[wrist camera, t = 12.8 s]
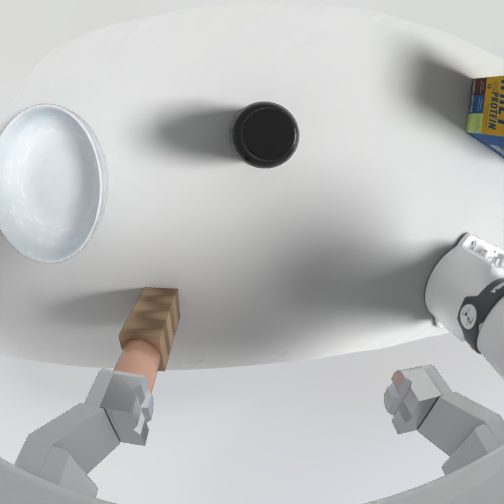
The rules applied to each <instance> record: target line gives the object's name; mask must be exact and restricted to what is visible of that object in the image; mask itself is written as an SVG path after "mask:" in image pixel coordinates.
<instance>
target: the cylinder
mask: <svg viewBox="0 0 504 504" xmlns="http://www.w3.org/2000/svg"><path fill="white" fill-rule="evenodd" d="M160 361H161V355H160V352H159V350H158V349H157V348H156V347H155V346H154V345H153V344H151V343H149V342H147V341H145V340H141V339H133V340H130V341H128V342H127V343H126V344H125V346H124V348H123V351H122V353H121V355H120V357H119V359H118V362H117V364H116V366H115V368H114V371H121V372H126V373H133V374H139V375H145V376H147V377H148V381H149V386H148V390H149V391H150V392H151V393H152V389H153V386H154V382H155V379H156V375H157V372H158V368H159V365H160Z"/></svg>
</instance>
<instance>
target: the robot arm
mask: <svg viewBox="0 0 504 504" xmlns="http://www.w3.org/2000/svg"><path fill="white" fill-rule="evenodd" d="M425 302H426V306H427V309H428V310H429V312H430V313H431V314H432V315H433V316H434V317H435V322H436V325H437V326H438V327H439V328H446V329H447V330H449V331H450V332H451V333H452V334H453V335H454V336H455V337H457V338H458V339H459V340H460V341H462V342H464V341H467V343H468V344H469V346H470V347H471V348H472V349H474V350H475V351H476V352H477V353H479V354H482V355H483V356H484V357H485V358H486V360H487V361H488V362H489V363H490V364H491V365H492V366H493V368H494V369H495V370H496V371H497V372H498V373H499V375H500V376H501V377H502V378H503V379H504V250H503V249H501V248H499V247H497V246H495V245H493V244H491V243H489V242H487V241H484V240H482V239H480V238H478V237H476V236H474V235H471V234H469V233H467V234H465V235H464V236H463V237H462V239H461V240H460V241H459V243H458V244H457V246H456V247H454V248H453V249H452V250H450V251H449V252H448V253H447V254H445V255H444V256H443V257H442V259H441V260H440V261H439V262H438V263H437V265H436V266H435V268H434V270H433V271H432V273H431V275H430V278H429V280H428V283H427V287H426V292H425ZM392 381H393V383H392V384H391V385H390V386H388V388H387V389H386V392H385V394H384V403H385V408H386V410H387V412H389V413H390V414H392V415H393V418H392V423H393V425H394V427H395V429H396V431H397V433H398V434H402V433H406V432H410V431H414V430H417V431H418V432H419V433H420V434H422V435H423V436H424V437H425V438H427V439H428V440H429V441H431V442H432V443H433V444H434V445H436V446H437V447H438V448H439V449H441V450H442V451H443V452H445V453H446V454H447V455H448V456H450V458H449V459H448V460H447V461H446V462H445V463H444V464H443V466H442V470H443V471H444V474H445V476H443V477H440V478H438V479H436V480H434V481H431V482H429V483H426V484H424V485H421V486H418V487H416V488H413V489H410V490H408V491H405V492H402V493H399V494H395V495H392V496H389V497H386V498H382V499H379V500H375V501H372V502H368V503H364V504H504V420H503V419H502V417H501V416H500V415H499V414H497V413H495V412H493V411H491V410H490V409H488V408H486V407H484V406H482V405H480V404H478V403H476V402H474V401H472V400H470V399H469V398H467V397H465V396H463V395H461V394H459V393H457V392H452V390H451V389H450V388H449V386H448V385H447V383H446V382H445V381H444V379H443V378H442V376H441V375H440V373H439V372H438V371H437V369H436V368H435V367H434V366H433V365H431V364H430V365H425V366H420V367H415V368H409V369H404V370H398V371H396V372H395V373H394V374H393V376H392ZM148 386H149V381H148V377H147V376H145V375H139V374H133V373H126V372H121V371H114V370H108V369H102V370H100V371H99V373H98V375H97V377H96V379H95V381H94V383H93V385H92V388H91V390H90V392H89V394H88V397H87V398H86V401H85V403H84V404H82V403H80V404H78V405H76V406H74V407H73V408H71V409H70V410H68V411H66V412H65V413H63V414H62V415H60V416H58V417H57V418H55V419H54V420H52V421H50V422H49V423H47V424H45V425H44V426H42V427H40V428H39V429H37V430H35V431H34V432H32V433H31V434H29V435H28V437H27V439H26V441H25V443H24V445H23V447H22V449H21V451H20V453H19V456H18V458H17V460H16V462H15V464H14V465H13V464H11V463H9V462H8V461H6V460H4V459H2V458H0V504H116V503H112V502H108V501H104V500H100V499H97V498H96V495H97V490H98V488H97V486H96V485H95V483H93V481H92V480H91V479H90V478H89V477H88V476H87V474H88V473H89V472H90V471H91V470H92V469H93V468H94V467H95V466H96V465H98V464H99V463H100V462H101V461H102V460H103V459H104V458H105V457H106V456H107V455H108V454H109V453H110V452H112V451H113V450H114V449H115V448H116V447H117V446H118V445H119V444H120V442H124V443H130V444H136V445H143V446H145V443H146V440H147V435H148V431H149V429H148V426H147V422H148V421H150V420H151V418H152V414H153V396H152V393H151V392H150V391H149V390H148Z"/></svg>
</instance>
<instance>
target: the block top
mask: <svg viewBox="0 0 504 504" xmlns="http://www.w3.org/2000/svg"><path fill="white" fill-rule="evenodd" d="M133 339H141V340H145V341H147V342H149V343H151V344H153V345H154V346H155V347H156V348H157V349H158V350H159V352H160V355H161V361H160V365H159V368H158V371H165V369H166V365H167V361H168V358H169V354H170V344H169V337H168V329H167V321H166V320H165V319H151V318H138V317H128V319H127V320H126V322H125V324H124V326H123V328H122V330H121V332H120V334H119V340H120V344H121V348H122V351H123V348H124V346H125V344H126V343H127V342H128V341H130V340H133Z"/></svg>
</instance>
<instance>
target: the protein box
mask: <svg viewBox="0 0 504 504" xmlns="http://www.w3.org/2000/svg"><path fill="white" fill-rule="evenodd" d="M466 132H467V133H468V134H470V135H471V136H473V137H475V138H476V139H478V140H479V141H481V142H482V143H484V144H485V145H487V146H488V147H489V148H491V149H492V150H494V151H495V152H496V153H498V154H499V155H500V156H502V157H503V158H504V76H496V77H486V78H477V79H473V81H472V92H471V100H470V108H469V115H468V121H467V127H466Z"/></svg>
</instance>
